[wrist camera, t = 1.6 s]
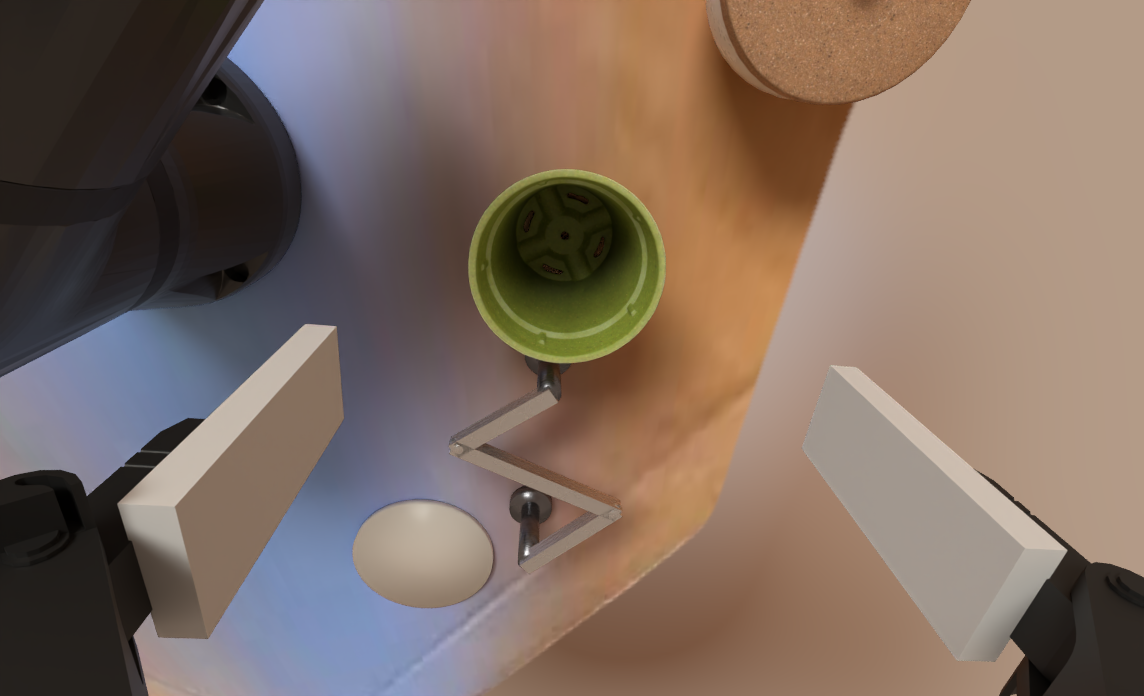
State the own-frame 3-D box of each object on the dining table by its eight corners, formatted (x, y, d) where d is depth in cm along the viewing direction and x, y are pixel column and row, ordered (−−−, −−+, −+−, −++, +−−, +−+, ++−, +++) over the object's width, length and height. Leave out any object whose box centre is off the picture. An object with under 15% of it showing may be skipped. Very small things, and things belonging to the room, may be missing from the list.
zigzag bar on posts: (457, 512, 42) (441, 581, 36) (466, 320, 36) (450, 364, 30) (599, 522, 43) (607, 591, 37) (634, 337, 36) (651, 383, 30)
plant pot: (469, 280, 34) (446, 334, 27) (510, 129, 31) (497, 139, 23) (607, 322, 36) (624, 384, 28) (661, 182, 32) (698, 209, 25)
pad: (357, 598, 45) (355, 604, 45) (352, 494, 41) (349, 499, 40) (489, 605, 46) (488, 611, 46) (498, 504, 42) (497, 510, 41)
